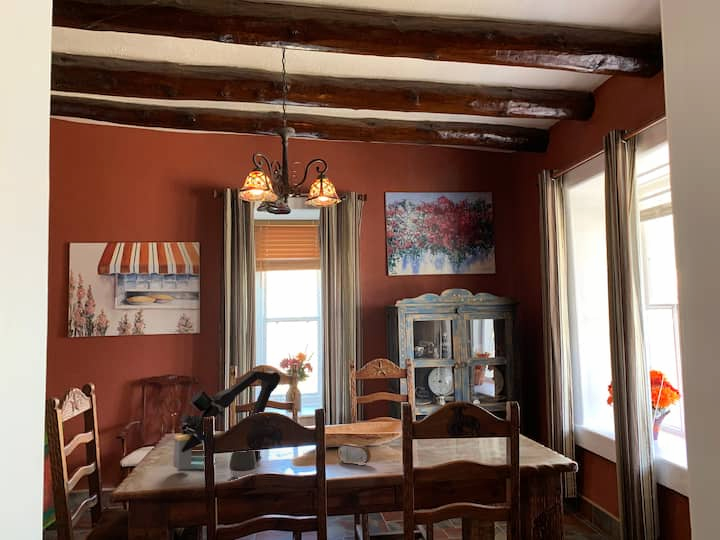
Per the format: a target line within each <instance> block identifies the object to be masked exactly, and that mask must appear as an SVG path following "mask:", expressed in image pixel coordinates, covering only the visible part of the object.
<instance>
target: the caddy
mask: <svg viewBox="0 0 720 540" xmlns="http://www.w3.org/2000/svg"><path fill="white" fill-rule="evenodd" d="M173 436H174V450H173V451H174V453H173V467H174V468H176V469H177V470H184V469H183V468H188V467H191V456H192V448H191V449H189V450H187V451H185V452H182V451H181V450H182V449H183V447H184V446H185V444H186V443H187V441H188V440H189V438H190V435H188V434H183V435H182V434H177V435H173Z"/></svg>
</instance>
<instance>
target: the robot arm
mask: <svg viewBox="0 0 720 540" xmlns="http://www.w3.org/2000/svg"><path fill="white" fill-rule="evenodd" d="M259 380H260V391H259V393H258V394H259V395H258V397H257V399H256V402H255V405H254V407H253V409H252V412H251V414H254V413H259V412H264V413H265V411H266V407H267V405H268V402H269V399H270V397H271V395H272V392H273V391H274V390H275V389H277V387H278V385H279V384H280V382H281V375H280V374H279V372H275V371H270V370H269V371H268V370H267V371H264V372H263V371H260V370H257V369H253V370H251V371H249V373H248V374H245V376H243V377H242V378H241V379H240V380H239V381H237V382H236V383H234V384H233V385H232V386H230V387H228V388H226V389H223V390H221V391H219V392H217V393H216V394H214V395H213V396H208V395H207V393H206V392H205V391H204V390H200V391H198V392H197V393H195V394H193V396H192V397H190V399H189V403H190V404H191V405H192V406H193V407H194V408H195V409H196V410H197V411H198V412H202V413H201V414H200V415H196V414H193V413H192V414H191V415H189V414H185V413H183V414H182V417H181V419H180V422H181V424H180V425H179V426H178V427H179V429H180V431H181V435H183V434H188V435H190V438H189V440H188V441H187V443H186V444H185V446H184V447H183V449H182V450H181V451H182V452H185V451H187V450H189V449H191V448H193V447H195V446H197V445H199V444H202V440H203V442H204V435H203V418H204V417H210V416H214V417H215V420H216V419H217V418H218V416H219V417H221V418H224V416H225V414H224V411H225V410H224V409H227V408H229V407H230V406H231V404H233V403H234V401H235V399H236V398H237V397H238V396H239V395H240V394H241V393H242V392H244V391H245V390H246V389H248V388H249V387H250V386H251V385H253V384H254V383H256V382H257V381H259ZM220 408H221V409H220ZM254 452H255V458H256V462H258V461H259V460H260V459H261V458H262V456H261V450H260V451H254Z"/></svg>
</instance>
